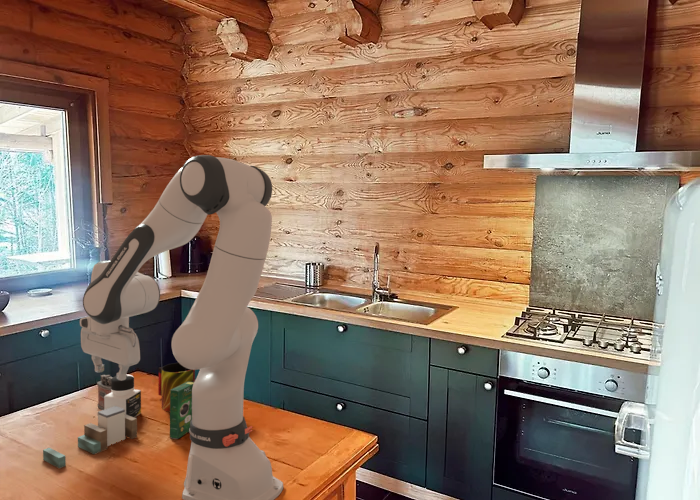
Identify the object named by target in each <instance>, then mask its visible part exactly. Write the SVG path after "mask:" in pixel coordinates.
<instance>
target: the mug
mask: <svg viewBox="0 0 700 500" xmlns="http://www.w3.org/2000/svg"><path fill="white" fill-rule="evenodd" d="M195 380H196V370H192V369H188V368H185V367H183V366H182V365H181V364H180V363H179V362H174V363H173V362H172V363H168V364H166V365H164V366H161V367H160V366H159V367H158V386H157V387H158V388H157V389H158V391H157V393H158V394H157V395H158V396H161V409H162V410H163V411H165V412H168V413H170V390H171V389H173V388H175V387H177V386H180V385H182V384H184V383H186V382H195Z"/></svg>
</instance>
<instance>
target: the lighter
mask: <svg viewBox="0 0 700 500" xmlns="http://www.w3.org/2000/svg"><path fill="white" fill-rule="evenodd" d="M113 377H114V376H113ZM113 377H112V376H111V374H102V375H101V374H100V381H97V382H96V384H97V394H98V395H97V399H98V400H97V408H98V409H100V411H102V410H104V396H105V395H107V394H109V393H111V379H112V378H113Z"/></svg>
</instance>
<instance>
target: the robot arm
mask: <svg viewBox="0 0 700 500" xmlns="http://www.w3.org/2000/svg"><path fill="white" fill-rule="evenodd" d="M271 180H272V179H271V178H270V176H269V175H268V174H267V173H266V172H265V171H263V170H262V169H261V168H259V167H257V166H254V165H248V164H246V163H244V162H239V161H238V160H235V159H231V158H227V157H219V156H218V157H217V156H214V155H209V154H201V155H196V156H192V157H191V158H189V159H188V160H186V161H185V163H184V164H183V165H182V167H181V168H180V169H178V171H176V173H175V174H174V176H173V177H172V179H171V180H170V181H169V183H168V184H167V185H166V187H165V189H164V190H163V192H162V194H161V195H160V197H159V198H158V201H157V202H156V204H155V205H154V208H152V209H151V211H150V212H149V214H148V215H146V217H145V218H144V220H142V222H141V223H139V224H138V225H137V226H136V227H135V228H134V229H133V230H132V231H131V232H130V233H129V234H128V235H127V236H126V237H125V239H124V241H123V242H122V243H121V245H120V246H119V248H118V249H117V250H116V252H115V253H114V255H113V256H112V258H111V259H110V260H103V261H101V260H100V261H98V262H96V263H95V264H94V265H93V268H92V271H91V275H90V276H91V278H90V283H89V285H88V286H87V287H86V289H85V291H84V295H83V296H82V307H83V310H84V312H85V313H86V315H87V316H85V317H82V318H80V319H79V326H80V327H81V330H80V347H81V349H82V352H83V353H85V354H88V355H90V356H91V361H92V362H93V365H94V372H95V373H97V374H98V373H99V374H100V373H103V372H104V371H105V364H103V360H106V361H108V362H112V363H116V364H118V368H119V370H118V372H116V376H117V379H118V380H120V381H122V380H125V379H126V374H127V373H128V370H130V367H132V366H134V365H137V364H139V362H140V361H141V350H140V349H141V348H140V341H139V338H138V335H137V333H135V331H134V329H133V328H131V327H130V324H129V323H130V317H134V316H139V315H142V314H146V313H149V312H152V311H154V310H155V309H156V308H157V307H158V305H159V303H160V299H161V289H160V286H159V284H158V282H157V281H156V280H155V279H154V278H153V277H152V276H150V275H145V274H143V273H141V272H139V270H140V269H141V268H142V267H143V265H144V264H145V263H147V262H148V260H150V259H153V257H156V256H158V255H160V254H162V253H164V252H167V251H170V250H173V249H177V248H179V247H183V246H184V245H186V244H188V243H189V242H190V241H192V239H194V237H195V236H196V235H197V234H198V233H199V231H200V229H201V228H202V226H203V224H204V222H205V221H206V219H207V216H208V215H209V216H210V215H214V214H216V215H217V216H218V217H217V218H218V219H219V228H218V230H219V231H218V234H217V236H216V239H215V243H214V247H213V250H212V255H211V258H210V261H209V262H210V263H209V266H208V270H207V272H206V276H205V278H204V282H203V284H202V286H201V289H200V290H199V293H198V294H197V296H196V298H195V300H194V302H193V304H192V306H191V308H190V309H189V311H188V314H187V316H186V317H185V319H184V321H182V323H181V325H179V327H178V328H177V329H176V330H175V332H174V333H173V335H172V337H171V351H172V354H173V357H174V358H175V361H177V363H180V364H181V365H182V366H183V367H185V368H188V369H192V370H195V371H196V370H199V371H198V374H197V376H196V377H195V382H194V384H193V388H192V420H191V422H190V428H189V432H188V433H189V439H190V441H191V443H190V448H189V449H190V450H189V453H188V456H187V457H188V458H187V465H186V466H187V468H186V473H185V475H186V476H185V479H184V482H183V487H184V489H183V490H182V495H181V499H182V500H276V499H277V498H278V497H279V495H280V494H281V493H282V491H283V490H284V482H283V481H281V479H278V478H277V477H275V476H274V474H273V468H272V462H271V460H269V458H268V457H267V455H266V453H265V451H264V450H261V449H260V448H259V446H257V444H256V443H255V442H254V441H253V440H252V438H251V437H250V433H251V432H252V431H253V429H252V428H253V426H252V425H250V426H249V427H248V425H247V421H246V418H245V417H244V391H245V389H244V388H245V379H246V374H247V369H248V364H249V360H250V355H251V350H252V345H253V342H254V340H255V337H256V336H257V333H258V329H259V320H258V317H257V315H256V314H255V312H254V311H253V310H252V309H251V308H250V307H248V305H249V304H250V302H251V301H252V299H253V298H254V297H255V295H256V294H257V290H258V287H259V284H260V280H261V278H262V273H263V269H264V266H265V262H266V259H267V255H268V251H269V246H270V241H271V236H272V235H271V234H272V225H273V224H272V223H273V216H272V213H271V210H269V208H268V207H266V206H268V204H269V202H270V200H271V198H272V195H273V184H272V181H271ZM102 359H103V360H102Z"/></svg>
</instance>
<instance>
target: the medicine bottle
mask: <svg viewBox="0 0 700 500" xmlns="http://www.w3.org/2000/svg"><path fill="white" fill-rule="evenodd" d="M114 406H117V407H120V408H122V409H125V414H126V415H129V416H131V417H134V418H137V416H139V415H140V414H141V413H142V391H141V389H135V377H134V376H133V375H132V374H127V373H126V379H125V380H122V381H120V380H118V379H117V375H115V376H113V378H112V379H111V393H109V394H107V395H105V396H104V410H105V409H108V408H111V407H114Z"/></svg>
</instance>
